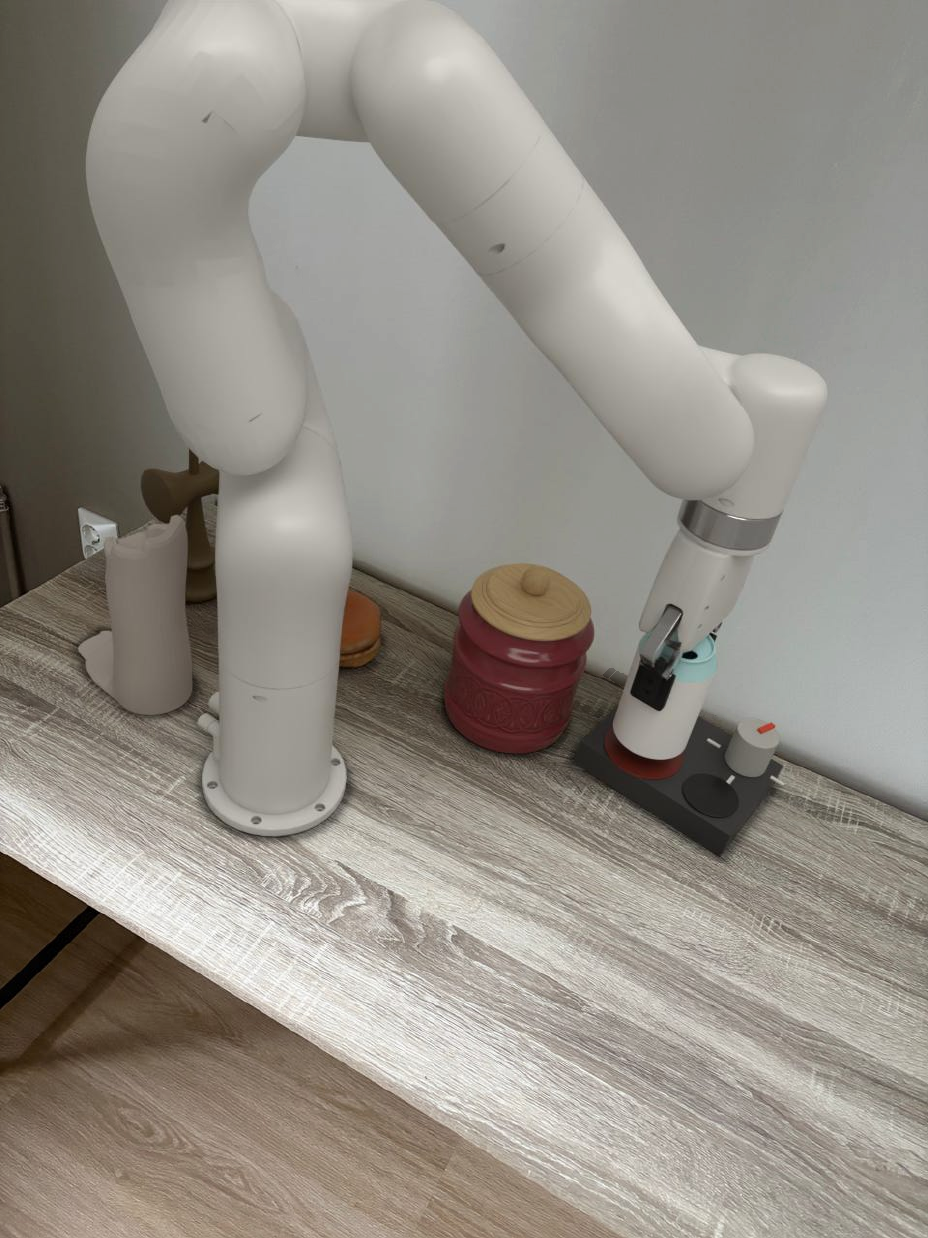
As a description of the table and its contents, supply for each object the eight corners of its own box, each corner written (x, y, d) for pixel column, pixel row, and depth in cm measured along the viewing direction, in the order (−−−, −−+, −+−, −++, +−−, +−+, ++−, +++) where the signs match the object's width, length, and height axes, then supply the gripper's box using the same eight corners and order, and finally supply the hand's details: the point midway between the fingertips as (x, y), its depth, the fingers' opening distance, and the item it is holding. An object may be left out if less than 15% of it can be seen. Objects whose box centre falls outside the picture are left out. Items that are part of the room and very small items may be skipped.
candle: (120, 622, 101) (105, 451, 89) (208, 691, 95) (204, 518, 83) (57, 652, 96) (32, 476, 84) (145, 726, 90) (131, 548, 78)
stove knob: (745, 783, 92) (760, 751, 89) (715, 754, 94) (729, 722, 91) (774, 769, 94) (789, 737, 91) (744, 742, 96) (758, 710, 94)
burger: (390, 666, 102) (395, 631, 99) (301, 676, 99) (303, 641, 96) (367, 608, 109) (370, 574, 106) (283, 616, 106) (284, 582, 103)
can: (699, 743, 92) (739, 646, 85) (655, 776, 88) (693, 677, 81) (641, 701, 96) (674, 604, 89) (596, 731, 92) (627, 632, 84)
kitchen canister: (594, 731, 99) (638, 592, 88) (490, 774, 92) (525, 629, 81) (518, 654, 106) (550, 518, 96) (417, 689, 100) (440, 546, 89)
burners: (588, 749, 92) (589, 747, 92) (650, 690, 100) (650, 688, 100) (719, 832, 86) (720, 830, 86) (773, 762, 95) (774, 760, 94)
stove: (573, 762, 95) (580, 739, 93) (642, 697, 104) (649, 674, 102) (730, 864, 88) (742, 841, 86) (789, 784, 97) (801, 762, 95)
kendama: (250, 588, 109) (252, 426, 97) (177, 622, 103) (170, 453, 90) (215, 563, 112) (213, 402, 99) (142, 594, 105) (131, 427, 93)
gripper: (733, 460, 84) (676, 621, 95) (633, 532, 73) (581, 706, 84) (813, 497, 81) (745, 658, 92) (723, 578, 70) (657, 752, 80)
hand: (668, 680), depth 88 cm, fingers closed on can, 7 cm apart
